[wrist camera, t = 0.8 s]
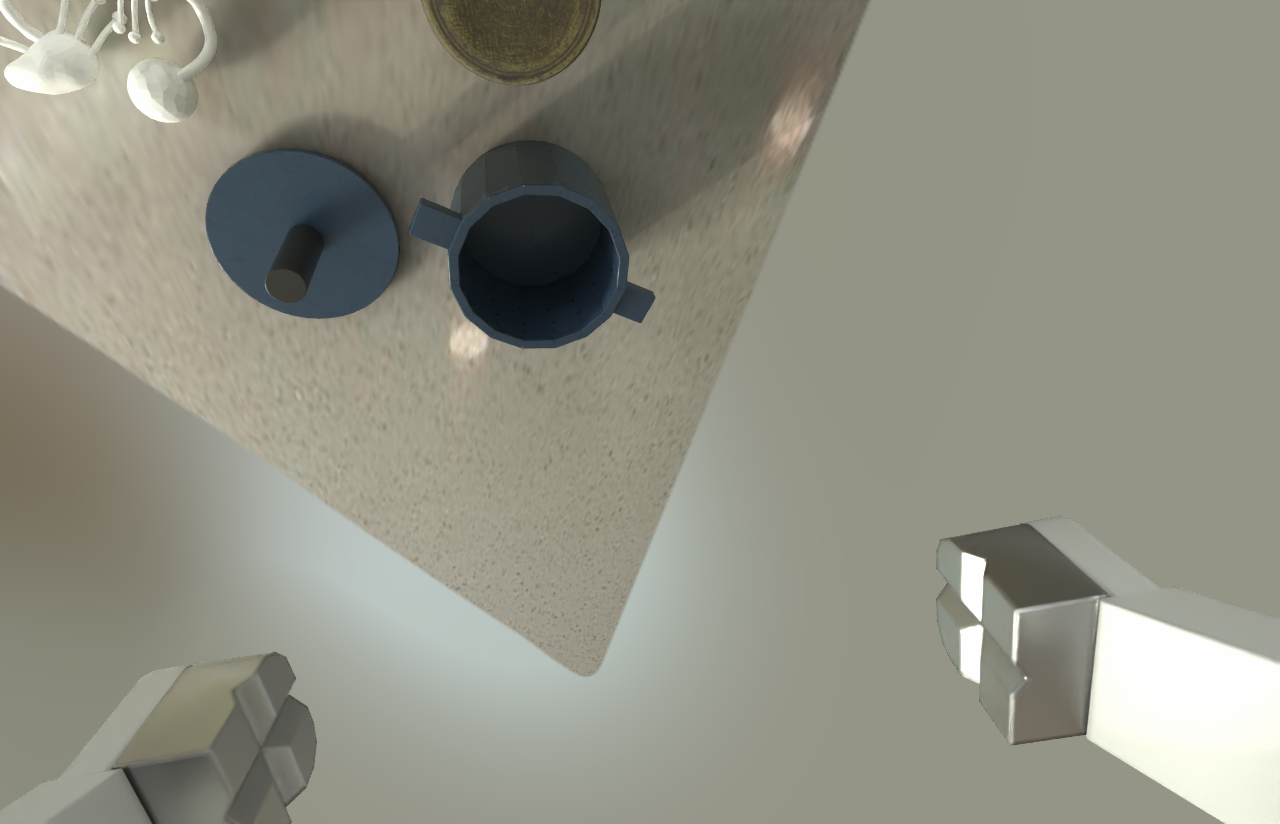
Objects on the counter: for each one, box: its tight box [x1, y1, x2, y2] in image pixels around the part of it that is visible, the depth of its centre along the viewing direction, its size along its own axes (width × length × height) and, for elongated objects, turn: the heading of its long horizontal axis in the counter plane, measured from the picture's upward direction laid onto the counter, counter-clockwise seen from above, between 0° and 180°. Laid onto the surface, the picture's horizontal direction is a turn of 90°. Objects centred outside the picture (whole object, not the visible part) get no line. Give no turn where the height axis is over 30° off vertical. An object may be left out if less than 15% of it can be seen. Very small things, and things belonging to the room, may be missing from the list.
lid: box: [206, 149, 399, 319], centre depth 53 cm, size 13×13×9 cm
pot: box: [409, 141, 655, 348], centre depth 55 cm, size 12×18×10 cm
